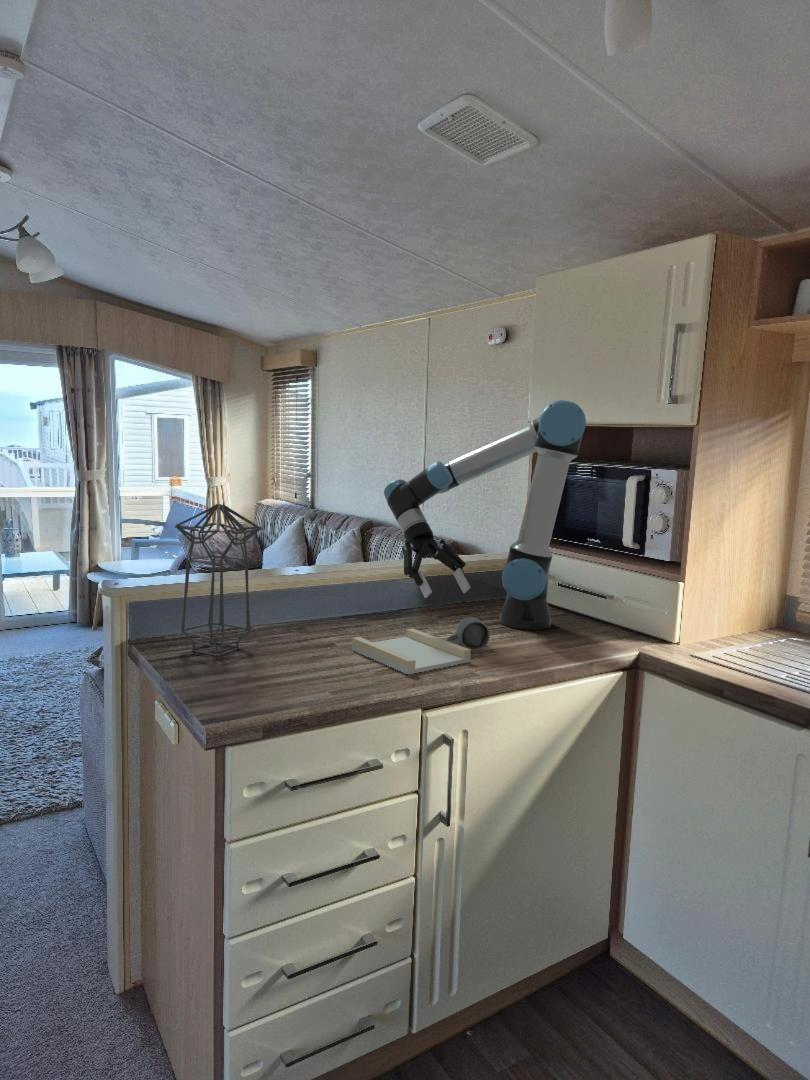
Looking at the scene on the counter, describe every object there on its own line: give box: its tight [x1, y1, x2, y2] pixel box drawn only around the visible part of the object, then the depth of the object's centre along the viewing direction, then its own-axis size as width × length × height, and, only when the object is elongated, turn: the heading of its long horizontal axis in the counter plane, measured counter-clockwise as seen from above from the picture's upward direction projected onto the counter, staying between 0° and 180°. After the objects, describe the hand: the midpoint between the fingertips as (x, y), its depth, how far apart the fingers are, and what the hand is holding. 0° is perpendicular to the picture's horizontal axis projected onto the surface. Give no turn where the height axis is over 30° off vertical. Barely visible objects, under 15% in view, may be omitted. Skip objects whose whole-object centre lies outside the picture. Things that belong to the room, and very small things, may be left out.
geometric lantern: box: [174, 503, 263, 657], centre depth 170 cm, size 16×16×35 cm
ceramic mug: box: [445, 616, 491, 652], centre depth 185 cm, size 11×8×8 cm
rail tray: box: [351, 628, 471, 675], centre depth 174 cm, size 19×22×3 cm
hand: (448, 592), depth 190 cm, fingers open, 13 cm apart
